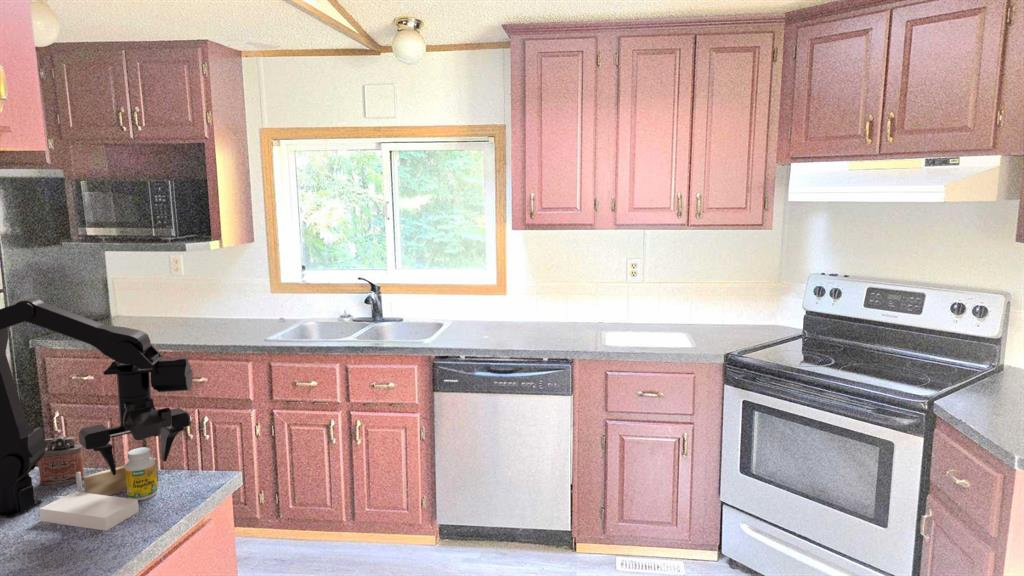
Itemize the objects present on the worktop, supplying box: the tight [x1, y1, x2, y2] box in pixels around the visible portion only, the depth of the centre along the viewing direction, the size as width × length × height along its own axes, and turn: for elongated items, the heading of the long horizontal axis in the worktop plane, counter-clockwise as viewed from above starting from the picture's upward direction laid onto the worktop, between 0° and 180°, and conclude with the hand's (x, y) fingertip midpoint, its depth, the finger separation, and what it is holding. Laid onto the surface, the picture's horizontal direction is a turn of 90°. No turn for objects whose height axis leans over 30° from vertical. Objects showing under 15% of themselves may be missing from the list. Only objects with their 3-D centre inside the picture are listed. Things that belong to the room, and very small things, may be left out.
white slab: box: [39, 472, 140, 532], centre depth 119 cm, size 15×9×6 cm, turn 77°
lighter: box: [37, 435, 86, 488], centre depth 132 cm, size 8×3×10 cm, turn 111°
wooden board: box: [83, 457, 159, 496], centre depth 128 cm, size 13×1×5 cm, turn 137°
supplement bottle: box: [125, 446, 159, 501], centre depth 126 cm, size 5×5×10 cm
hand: (139, 467), depth 126 cm, fingers open, 9 cm apart
